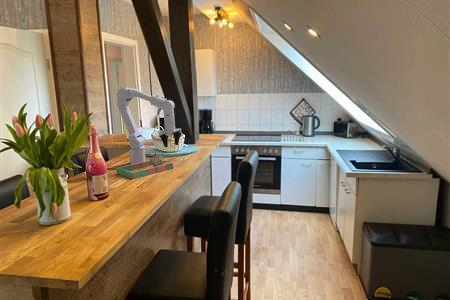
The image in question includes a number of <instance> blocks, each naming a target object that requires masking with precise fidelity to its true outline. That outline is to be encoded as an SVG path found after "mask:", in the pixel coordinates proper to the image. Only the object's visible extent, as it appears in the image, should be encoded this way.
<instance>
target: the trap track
mask: <svg viewBox="0 0 450 300" xmlns="http://www.w3.org/2000/svg"><path fill="white" fill-rule="evenodd" d="M151 166H153V164H152V162H151V160H149V159H148V160H146V161H144V162H140V163H135V164H128V165H127V164H126V165H122V166H119V167H115V171H116V174H117V175H120V176H123V177H127V178H129V179H133V180H134V179H138V178H142V177H146V176H149V175H153V174H157V173H161V172H165V171H168V170H172V169H174V163H173V162H169V163H164V164H163V165H160V166H156V167H151ZM147 167H148V168H147ZM144 168H145V169H144ZM140 169H142V170H140ZM135 170H137V171H135Z"/></svg>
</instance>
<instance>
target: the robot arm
mask: <svg viewBox="0 0 450 300" xmlns="http://www.w3.org/2000/svg"><path fill="white" fill-rule="evenodd" d="M116 97H117V98H116V99H117V102H116V106H117V108H118V110H119V113H120V115H121V118H122V120H123V122H124V125H125V127H126V130H127V132H128V134H129V135H128V141H129V146H130V149H129V151H128V155H129V162H128V164H129V165H131V164H135V163H140V162H144V161H147V160H146V152H145V151H146V149H145V147H146V146H145V145H146V143H147V139H146V138H145V137H144V136H143V134H142V132H141V131H139V128H138V127H137V124H136V122H135V119H134V117H133V115H132V112H131V110H130V107H129V104H130V102H131V101H132V100H133V99H134V98H139V99H142V100H144V101H147V102H149V103H150V105H152V106H153V107H156V108H159V109H161V110H162V111H163V119H164V120H163V121H164V122H163V123H164V130H160V131H158V135H159V138H160V139H161V141H162V143H163V147H164V148H168V147H169V144H168V143H169V142H168V140H169V134H170V135H171V134H172V136H173V139H174V145H175V146H178V145H179V142H180V138H181V136H182V128H179V127H178V128H176V121H175V110H174V109H175V107H176V105H175V103H174V101H173V100H171V99H167V98H164V97H161V96H160V95H159V94H153V95H150V94H148V93H146V92H143V91H141V90H139V89H137V88H134V87H130V86H129V87H120V88H119V89H118V90H117V92H116Z"/></svg>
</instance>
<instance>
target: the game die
mask: <svg viewBox="0 0 450 300" xmlns="http://www.w3.org/2000/svg"><path fill="white" fill-rule="evenodd" d="M163 155H164V153H161V154H159V153H157V152H154V155H152V157H151V158H149V159H148V160H151V162H152V164H153V165H152V166H153V167H156V166H160V165H164V164H166V163H167V161H166V160H165V157H164V156H163Z"/></svg>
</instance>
